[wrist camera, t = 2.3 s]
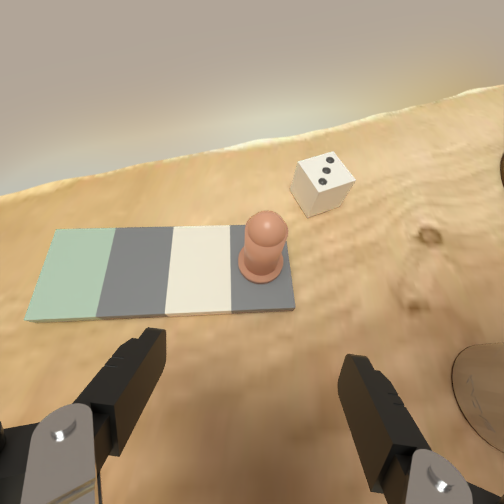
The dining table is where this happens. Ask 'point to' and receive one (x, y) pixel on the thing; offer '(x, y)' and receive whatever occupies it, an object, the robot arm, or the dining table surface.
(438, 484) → the robot arm
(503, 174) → the wooden plate with food
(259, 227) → the pawn
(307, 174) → the die
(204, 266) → the board
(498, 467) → the dining table surface
